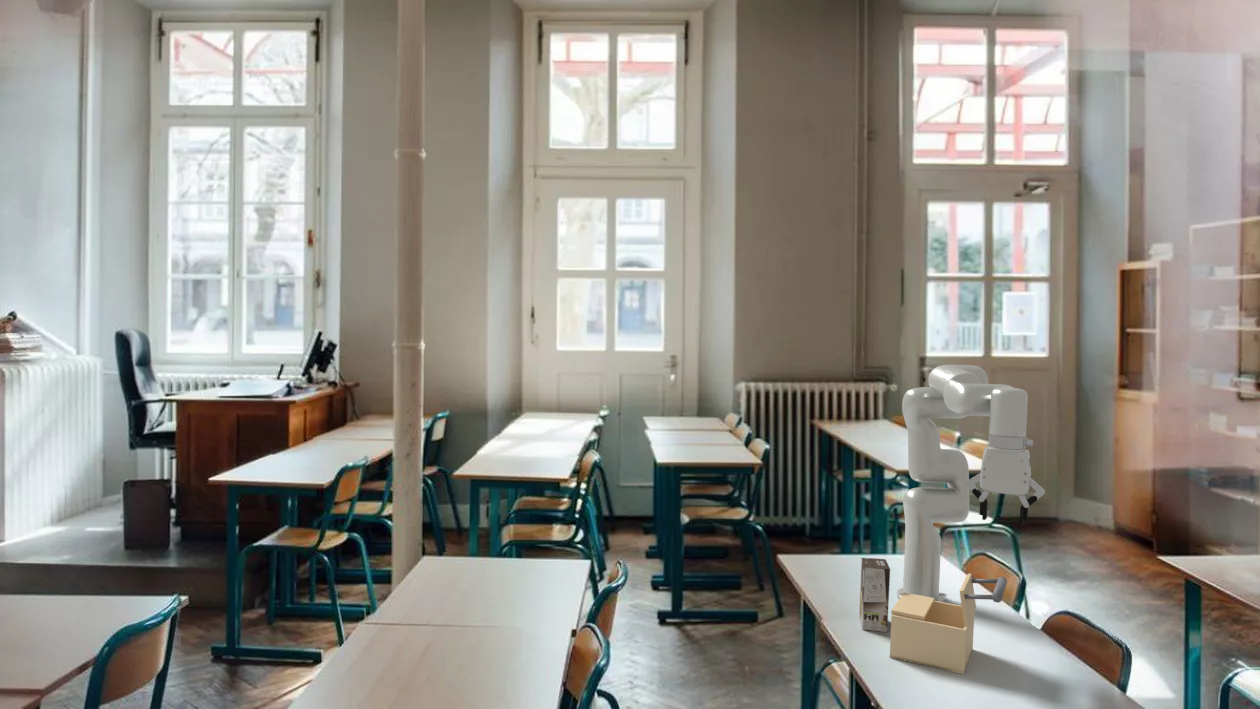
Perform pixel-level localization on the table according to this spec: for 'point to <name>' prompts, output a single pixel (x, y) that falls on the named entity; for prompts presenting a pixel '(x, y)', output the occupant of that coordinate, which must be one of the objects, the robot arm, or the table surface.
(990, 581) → the flap
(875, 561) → the coffee box
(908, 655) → the carton
